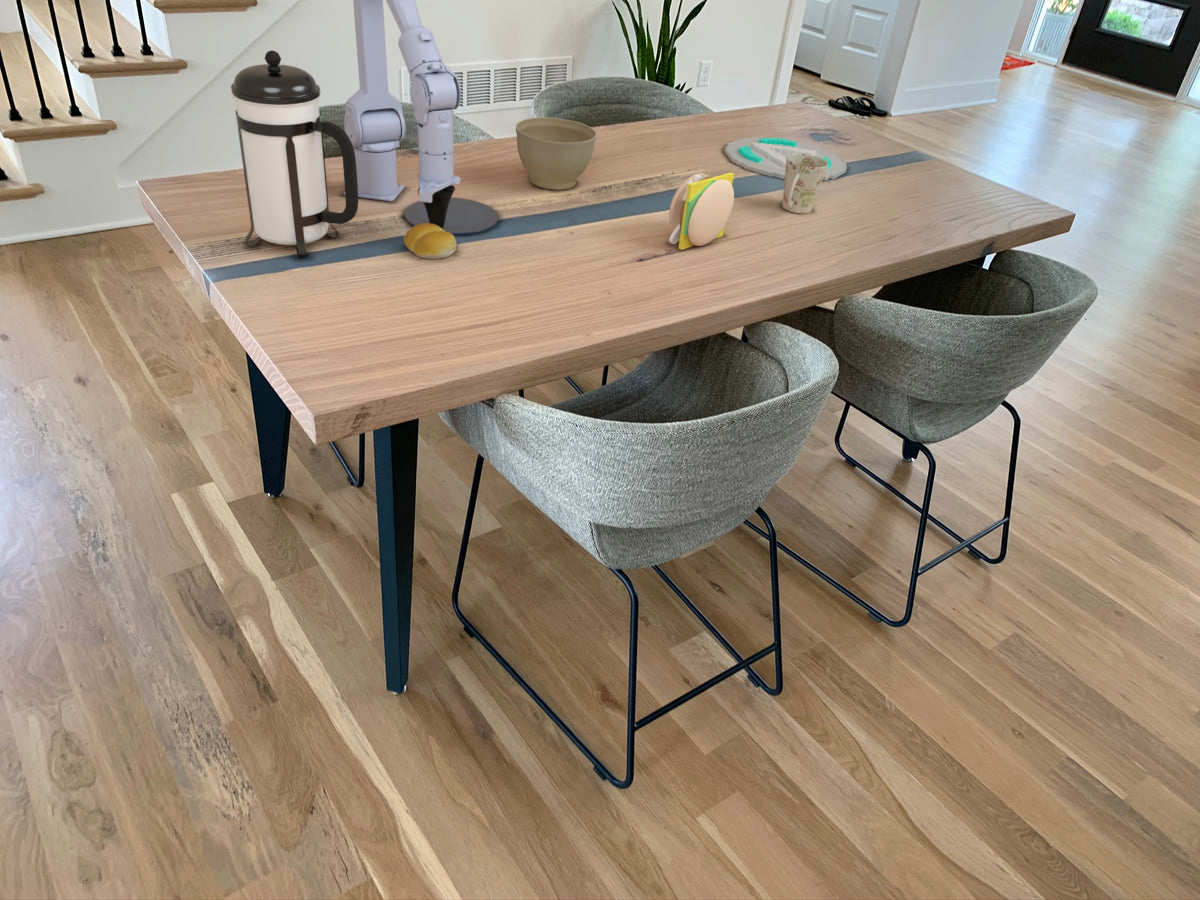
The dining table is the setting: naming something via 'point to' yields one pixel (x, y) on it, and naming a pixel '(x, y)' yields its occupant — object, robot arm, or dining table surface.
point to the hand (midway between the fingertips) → (437, 228)
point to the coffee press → (288, 155)
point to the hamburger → (701, 209)
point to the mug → (802, 181)
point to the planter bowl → (554, 150)
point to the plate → (457, 216)
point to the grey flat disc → (778, 155)
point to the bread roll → (430, 241)
